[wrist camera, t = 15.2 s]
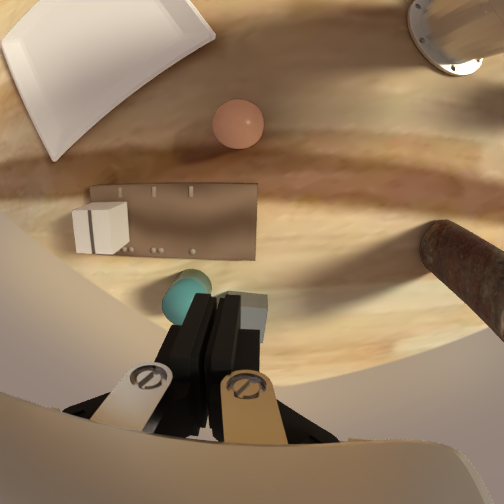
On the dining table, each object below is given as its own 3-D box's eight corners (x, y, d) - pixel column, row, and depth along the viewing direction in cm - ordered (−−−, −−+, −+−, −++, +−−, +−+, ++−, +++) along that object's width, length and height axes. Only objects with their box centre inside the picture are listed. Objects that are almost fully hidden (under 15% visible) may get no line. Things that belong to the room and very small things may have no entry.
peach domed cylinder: (220, 106, 34) (213, 99, 28) (264, 107, 34) (264, 100, 28) (219, 148, 35) (211, 148, 30) (262, 149, 35) (262, 149, 30)
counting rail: (95, 184, 37) (88, 186, 35) (257, 183, 36) (257, 184, 35) (100, 250, 40) (95, 254, 38) (255, 256, 39) (255, 261, 38)
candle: (430, 280, 40) (512, 360, 21) (405, 245, 38) (495, 319, 19) (465, 244, 38) (559, 305, 19) (443, 207, 36) (547, 255, 17)
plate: (219, 41, 31) (217, 36, 29) (61, 162, 36) (52, 163, 34) (133, -63, 25) (129, -70, 23) (6, 44, 30) (-2, 42, 28)
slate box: (228, 290, 41) (225, 304, 37) (267, 294, 41) (267, 309, 37) (226, 322, 43) (223, 339, 39) (262, 326, 43) (262, 343, 39)
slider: (92, 202, 36) (71, 210, 31) (126, 201, 36) (108, 209, 31) (95, 240, 37) (76, 253, 33) (129, 241, 37) (112, 254, 32)
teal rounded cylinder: (173, 268, 40) (160, 287, 35) (211, 269, 40) (203, 290, 34) (175, 302, 42) (164, 325, 36) (212, 304, 42) (205, 328, 36)
